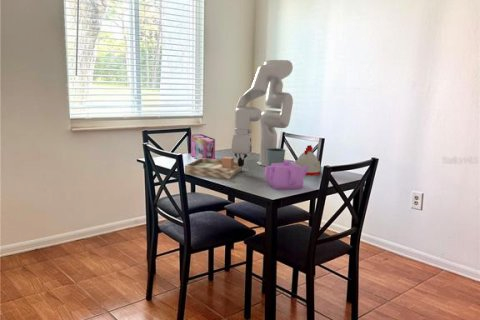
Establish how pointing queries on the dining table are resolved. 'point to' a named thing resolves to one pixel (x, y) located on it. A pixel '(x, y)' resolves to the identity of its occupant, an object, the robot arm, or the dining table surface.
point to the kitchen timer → (309, 161)
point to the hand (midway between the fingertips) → (240, 166)
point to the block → (228, 162)
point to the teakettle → (285, 175)
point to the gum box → (202, 147)
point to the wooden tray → (211, 168)
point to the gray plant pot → (275, 155)
